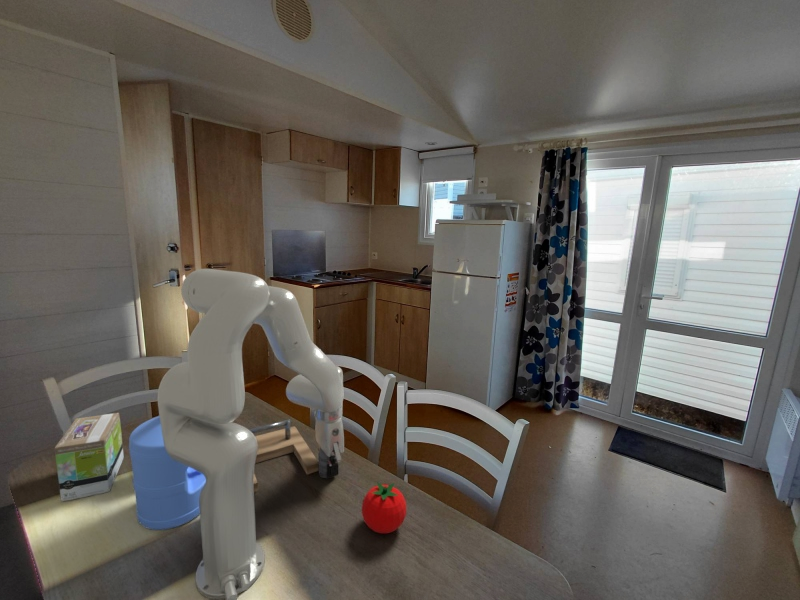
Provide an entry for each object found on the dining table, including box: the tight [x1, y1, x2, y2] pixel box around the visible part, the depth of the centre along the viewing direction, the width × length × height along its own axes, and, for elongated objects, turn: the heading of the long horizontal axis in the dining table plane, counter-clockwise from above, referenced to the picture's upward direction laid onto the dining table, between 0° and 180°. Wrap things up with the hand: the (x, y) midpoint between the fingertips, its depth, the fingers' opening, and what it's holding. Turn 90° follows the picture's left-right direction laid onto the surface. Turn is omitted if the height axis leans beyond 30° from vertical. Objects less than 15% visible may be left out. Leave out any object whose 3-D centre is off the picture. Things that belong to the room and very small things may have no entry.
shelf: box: [253, 425, 319, 493], centre depth 108 cm, size 22×20×2 cm
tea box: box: [54, 412, 125, 502], centre depth 96 cm, size 15×10×15 cm
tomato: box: [361, 481, 407, 534], centre depth 86 cm, size 10×10×10 cm
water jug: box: [128, 415, 206, 531], centre depth 87 cm, size 16×16×28 cm
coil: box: [317, 448, 335, 479], centre depth 103 cm, size 5×5×7 cm
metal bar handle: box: [248, 418, 292, 440], centre depth 110 cm, size 3×14×6 cm, turn 123°
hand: (328, 469), depth 104 cm, fingers closed on coil, 5 cm apart
